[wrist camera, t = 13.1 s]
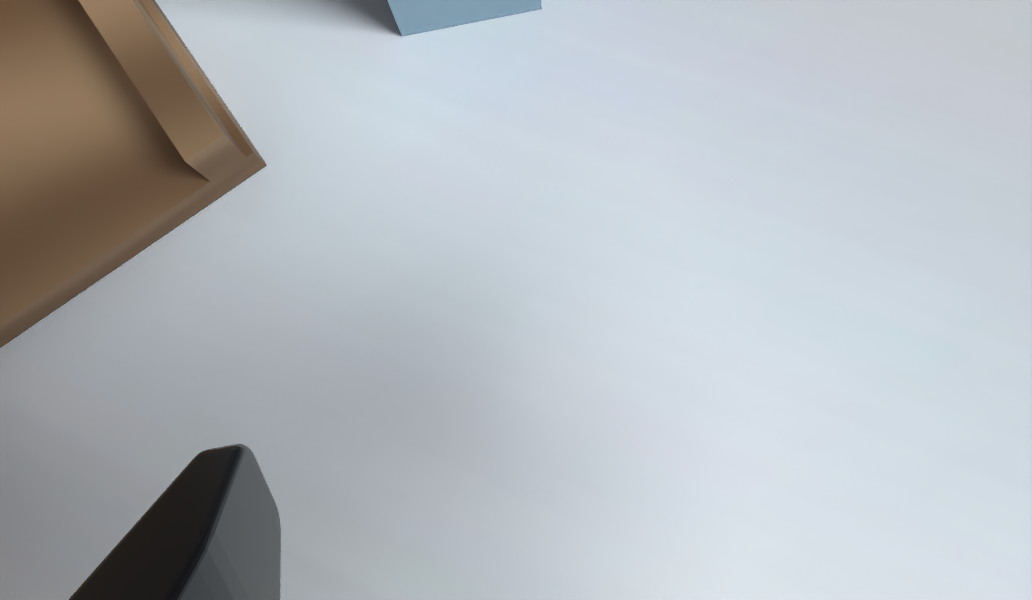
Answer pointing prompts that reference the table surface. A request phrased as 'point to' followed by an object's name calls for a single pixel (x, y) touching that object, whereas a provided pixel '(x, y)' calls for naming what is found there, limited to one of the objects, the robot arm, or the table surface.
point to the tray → (100, 146)
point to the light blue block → (452, 12)
